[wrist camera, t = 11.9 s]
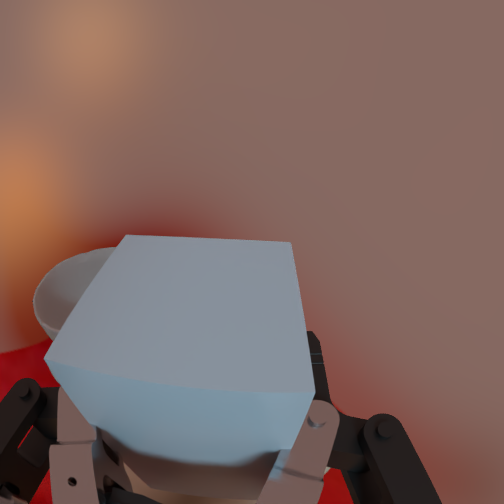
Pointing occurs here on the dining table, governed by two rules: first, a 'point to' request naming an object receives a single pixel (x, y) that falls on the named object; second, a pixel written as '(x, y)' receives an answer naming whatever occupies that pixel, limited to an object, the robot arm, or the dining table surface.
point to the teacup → (66, 288)
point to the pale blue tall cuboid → (191, 361)
